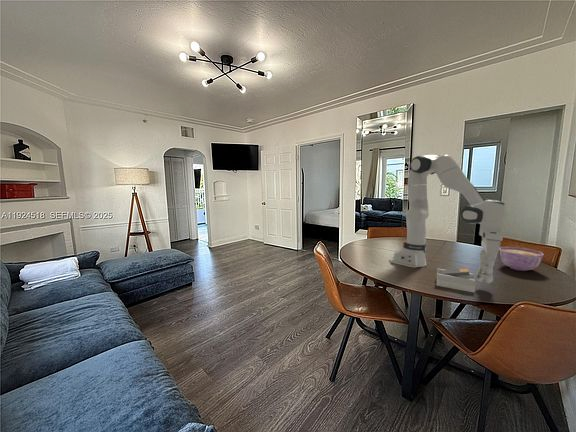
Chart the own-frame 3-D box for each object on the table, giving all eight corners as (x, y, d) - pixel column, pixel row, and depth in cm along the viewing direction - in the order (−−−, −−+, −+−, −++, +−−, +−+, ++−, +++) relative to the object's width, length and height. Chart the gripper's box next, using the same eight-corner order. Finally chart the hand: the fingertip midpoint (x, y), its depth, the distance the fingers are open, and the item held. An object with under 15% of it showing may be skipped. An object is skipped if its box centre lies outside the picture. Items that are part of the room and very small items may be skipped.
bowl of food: (551, 275, 137) (554, 256, 135) (510, 273, 141) (513, 254, 139) (524, 264, 156) (526, 247, 155) (489, 262, 160) (491, 246, 159)
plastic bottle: (484, 279, 124) (489, 242, 121) (496, 285, 117) (502, 246, 114) (472, 279, 124) (477, 242, 121) (483, 285, 117) (489, 246, 114)
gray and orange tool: (441, 276, 126) (441, 273, 126) (441, 272, 131) (441, 269, 132) (469, 275, 120) (468, 272, 120) (468, 271, 125) (467, 268, 125)
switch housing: (436, 285, 126) (437, 274, 125) (436, 277, 136) (437, 267, 135) (474, 292, 117) (475, 281, 116) (471, 283, 127) (472, 273, 126)
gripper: (479, 228, 127) (476, 253, 129) (485, 236, 110) (482, 264, 112) (495, 230, 124) (491, 255, 126) (503, 237, 106) (499, 267, 109)
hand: (487, 259), depth 119 cm, fingers closed on plastic bottle, 6 cm apart
